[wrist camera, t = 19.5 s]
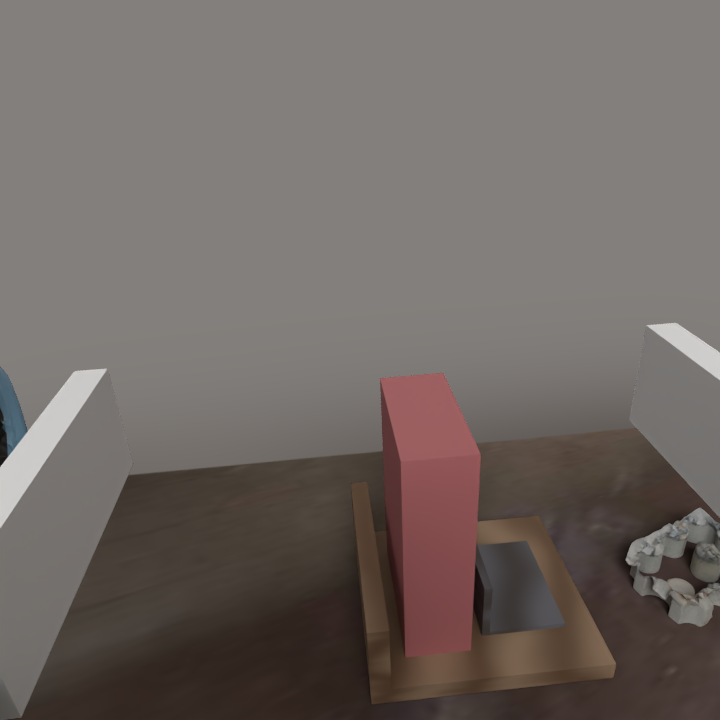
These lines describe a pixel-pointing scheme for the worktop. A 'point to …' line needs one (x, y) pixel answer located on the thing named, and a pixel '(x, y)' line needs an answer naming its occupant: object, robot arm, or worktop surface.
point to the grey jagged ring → (709, 562)
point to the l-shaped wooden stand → (482, 617)
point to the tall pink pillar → (430, 512)
